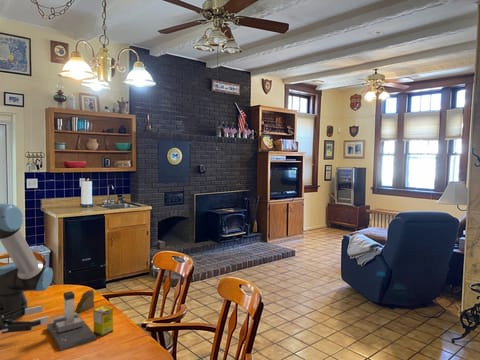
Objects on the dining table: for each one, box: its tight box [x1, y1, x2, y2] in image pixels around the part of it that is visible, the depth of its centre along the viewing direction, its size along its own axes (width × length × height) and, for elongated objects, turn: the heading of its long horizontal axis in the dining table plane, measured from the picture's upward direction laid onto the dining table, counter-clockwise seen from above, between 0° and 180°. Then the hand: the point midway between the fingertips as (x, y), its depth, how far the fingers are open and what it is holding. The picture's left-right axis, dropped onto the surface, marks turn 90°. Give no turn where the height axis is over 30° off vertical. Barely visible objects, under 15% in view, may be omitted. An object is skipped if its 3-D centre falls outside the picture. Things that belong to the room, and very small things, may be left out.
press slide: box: [56, 290, 84, 333], centre depth 161 cm, size 5×10×15 cm, turn 129°
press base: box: [46, 311, 97, 351], centre depth 159 cm, size 24×14×5 cm, turn 39°
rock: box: [74, 289, 95, 314], centre depth 186 cm, size 11×9×10 cm
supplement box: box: [92, 305, 114, 337], centre depth 161 cm, size 6×6×11 cm
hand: (45, 313), depth 155 cm, fingers open, 13 cm apart
